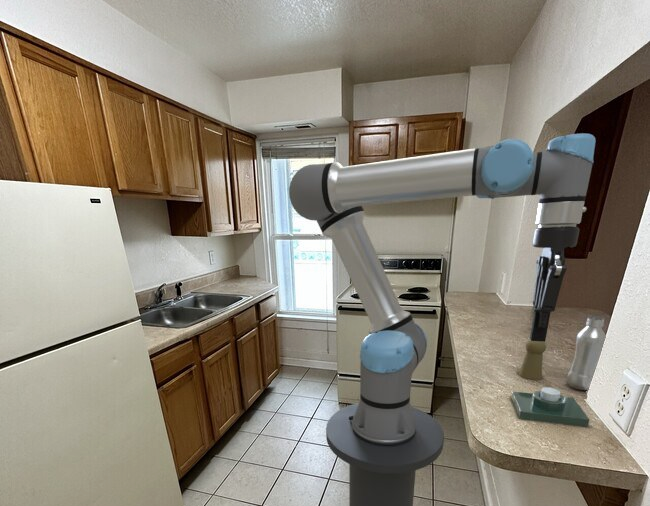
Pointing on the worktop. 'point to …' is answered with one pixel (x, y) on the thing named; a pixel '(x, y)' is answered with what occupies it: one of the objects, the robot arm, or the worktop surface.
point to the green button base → (549, 409)
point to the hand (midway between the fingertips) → (537, 340)
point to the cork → (533, 360)
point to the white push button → (550, 394)
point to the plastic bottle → (587, 353)
